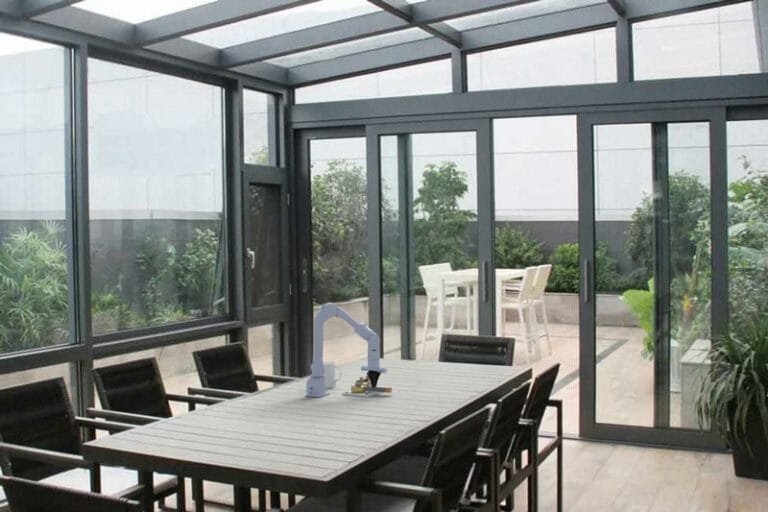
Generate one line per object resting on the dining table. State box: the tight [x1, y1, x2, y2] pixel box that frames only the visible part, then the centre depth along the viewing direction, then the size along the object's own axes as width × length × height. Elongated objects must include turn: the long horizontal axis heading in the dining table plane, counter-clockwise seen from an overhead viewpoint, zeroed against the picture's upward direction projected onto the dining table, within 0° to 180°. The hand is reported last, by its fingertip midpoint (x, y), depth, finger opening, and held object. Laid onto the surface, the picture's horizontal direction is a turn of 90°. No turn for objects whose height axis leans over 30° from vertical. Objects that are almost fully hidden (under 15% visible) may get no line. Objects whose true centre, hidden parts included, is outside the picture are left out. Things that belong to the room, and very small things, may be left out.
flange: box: [342, 382, 383, 398], centre depth 422 cm, size 16×14×5 cm
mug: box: [323, 361, 343, 389], centre depth 442 cm, size 12×8×12 cm
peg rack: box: [355, 374, 372, 387], centre depth 441 cm, size 10×5×5 cm, turn 150°
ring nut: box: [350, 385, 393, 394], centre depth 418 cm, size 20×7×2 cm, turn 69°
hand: (374, 386), depth 424 cm, fingers closed
